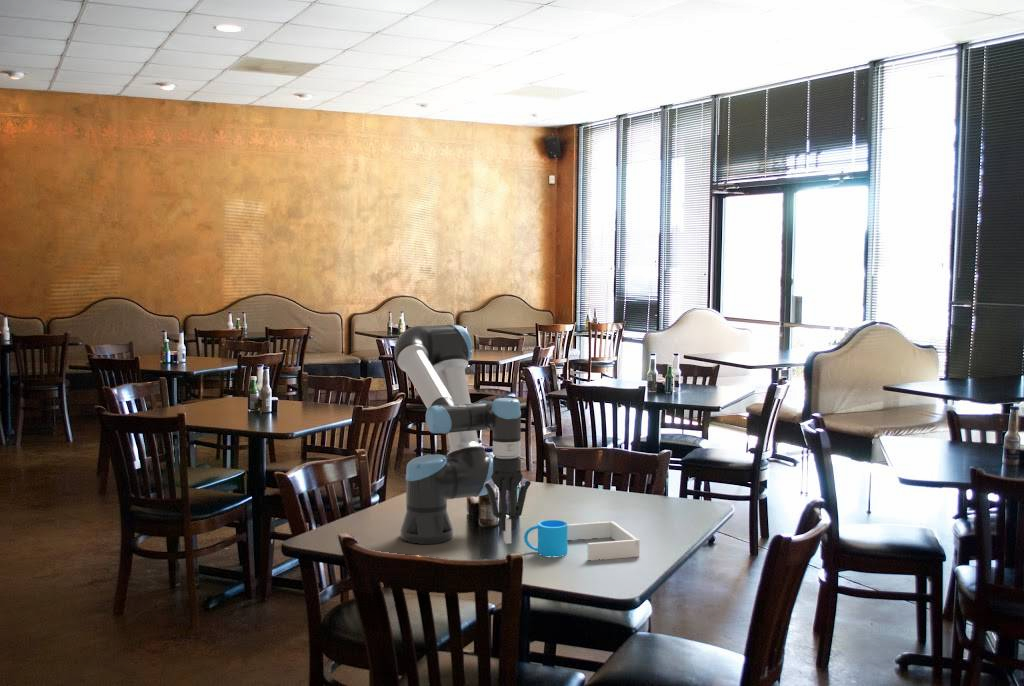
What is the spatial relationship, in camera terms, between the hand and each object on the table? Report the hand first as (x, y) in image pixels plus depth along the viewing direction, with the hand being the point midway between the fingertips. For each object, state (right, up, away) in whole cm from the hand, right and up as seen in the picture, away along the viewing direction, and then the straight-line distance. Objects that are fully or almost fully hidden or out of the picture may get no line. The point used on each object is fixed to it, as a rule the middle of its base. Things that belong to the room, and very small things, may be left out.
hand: (507, 542), depth 260 cm
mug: (+10, -4, +4) cm, 12 cm away
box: (+26, -3, +8) cm, 27 cm away
